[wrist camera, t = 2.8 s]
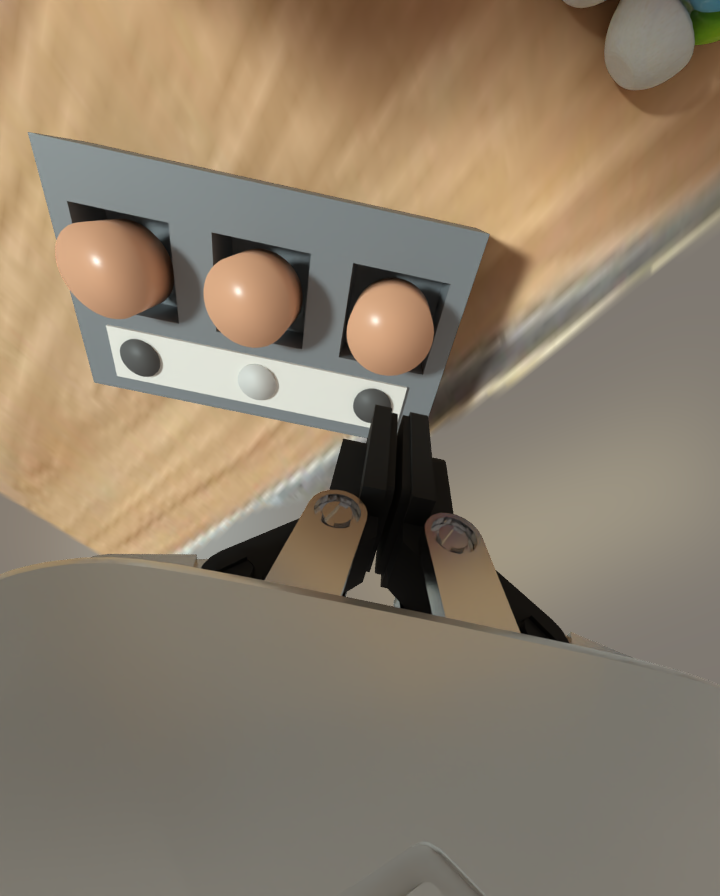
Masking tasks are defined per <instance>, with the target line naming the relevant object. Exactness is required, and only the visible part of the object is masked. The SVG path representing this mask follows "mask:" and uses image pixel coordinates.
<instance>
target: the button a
mask: <svg viewBox="0 0 720 896" xmlns="http://www.w3.org/2000/svg"><path fill="white" fill-rule="evenodd" d="M55 257H56V262H57V266H58V269H59V272H60V274H61V276H62V278H63V280H64V282H65V284H66V285H67V287H68V288H69V290H70V291H71V292H72V293H73V295H74V296H75V297H76V298H77V299H78V300H79V301H80V302H81V303H82V304H84V305H85V306H86V307H88V308H89V309H90V310H92V311H94V312H95V313H97V314H99V315H102V316H104V317H107V318H112V319H126V318H129V317H132V316H134V315H136V314H138V313H141V312H143V311H145V310H147V309H149V308H152V307H154V306H156V305H158V304H160V303H162V302H164V301H165V300H166V299H167V298H168V297H169V296H170V294H171V292H172V290H173V287H174V271H173V264H172V261H171V259H170V256H169V254H168V252H167V250H166V249H165V247H164V245H163V244H162V243H161V241H160V240H159V239H158V238H157V237H156V236H155V235H154V234H153V233H152V232H151V231H150V230H148V229H147V228H146V227H144V226H143V225H141V224H139V223H137V222H134V221H131V220H128V219H110V220H98V221H87V222H77V223H73V224H70V225H68V226H67V227H65V228H64V229H63V230H62V231H61V232H60V234H59V235H58V238H57V240H56V245H55Z"/></svg>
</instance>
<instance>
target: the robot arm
mask: <svg viewBox="0 0 720 896" xmlns="http://www.w3.org/2000/svg"><path fill="white" fill-rule="evenodd" d="M397 425H398V414H396V413H392V408H390V407H385V406H380V405H376V404H375V408H374V412H373V416H372V420H371V425H370V429H369V433H368V438H367V442H366V443H361V442H357V441H352V440H347V439H343V442H342V446H341V449H340V453H339V457H338V460H337V464H336V468H335V472H334V475H333V479H332V483H331V486H330V490H327V491H323V492H320V493H318V494H316V495H315V496H314V497H313V498H312V499H311V500H310V501H309V503H308V505H307V506H306V508H305V510H304V512H303V513H302V515H301V517H300V518H299V519H297V520H294V521H292V522H290V523H287V524H285V525H282V526H280V527H278V528H275V529H273V530H270V531H268V532H266V533H263V534H261V535H259V536H256V537H254V538H251V539H249V540H247V541H245V542H242V543H239V544H237V545H234V546H232V547H229V548H227V549H225V550H222V551H220V552H218V553H217V554H215V555H213V556H212V557H210V558H209V559H197V555H185V554H105V555H97V556H93V557H91V558H75V559H67V560H58V561H50V562H44V563H39V564H34V565H30V566H26V567H22V568H18V569H14V570H10V571H8V572H5V573H2V574H0V896H720V685H718V684H716V683H713V682H711V681H709V680H706V679H703V678H700V677H697V676H694V675H691V674H688V673H685V672H682V671H679V670H676V669H672V668H669V667H665V666H661V665H657V664H654V663H650V662H646V661H643V660H639V659H635V658H632V657H630V656H627V655H625V654H623V653H620V652H618V651H615V650H613V649H610V648H608V647H606V646H603V645H601V644H598V643H596V642H594V641H591V640H589V639H586V638H584V637H582V636H579V635H577V634H574V633H572V632H570V633H569V634H568V635H567V636H566V635H565V634H564V633H563V631H562V630H561V629H560V628H559V626H558V625H557V624H556V623H555V622H554V621H553V620H552V619H551V618H550V617H549V616H547V615H546V614H545V613H544V612H543V611H542V610H540V609H539V608H538V607H537V606H536V605H535V604H534V603H532V602H531V601H530V600H529V599H528V598H527V597H526V596H525V595H524V594H522V593H521V592H520V591H519V590H518V589H517V588H516V587H514V586H513V585H512V584H511V583H510V582H509V581H508V580H506V579H505V578H504V577H503V576H502V575H501V574H500V573H498V572H497V571H496V570H495V568H494V565H493V563H492V560H491V558H490V555H489V553H488V550H487V548H486V545H485V543H484V540H483V538H482V536H481V534H480V533H479V531H478V530H477V529H476V527H475V526H474V525H473V524H472V523H470V522H469V521H467V520H466V519H464V518H462V517H460V516H458V515H455V514H453V508H452V501H451V495H450V487H449V481H448V475H447V467H446V462H445V461H444V460H441V459H437V458H432V452H431V442H430V431H429V421H428V416H427V415H422V414H418V413H413V412H410V414H409V416H406V415H403V416H402V419H401V422H400V425H399V429H398V432H397ZM376 550H377V553H376ZM375 553H376V564H375V573H377V574H381V587H384V588H388V589H389V590H390V592H391V593H392V594H393V595H394V596H395V600H394V607H393V606H387V605H383V604H378V603H373V602H368V601H363V600H358V599H353V598H348V597H346V594H347V591H349V590H350V589H352V588H354V587H355V586H357V585H359V584H360V583H362V582H363V579H364V576H365V573H366V571H367V572H370V569H371V566H372V563H373V560H374V556H375Z"/></svg>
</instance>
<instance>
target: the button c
mask: <svg viewBox="0 0 720 896" xmlns="http://www.w3.org/2000/svg"><path fill="white" fill-rule="evenodd" d="M433 336H434V326H433V321H432V317H431V312H430V308H429V305H428V302H427V300H426V297H425V296H424V294H423V293H422V292H421V290H420V289H419V288H418V287H417V286H415V285H414V284H412V283H411V282H409V281H407V280H404V279H401V278H384V279H381V280H378V281H376V282H374V283H372V284H371V285H369V286H368V287H367V288H365V290H364V291H363V292H362V293H361V294H360V296H359V297H358V299H357V301H356V303H355V306H354V308H353V310H352V313H351V315H350V318H349V321H348V325H347V341H348V345H349V348H350V351H351V353H352V355H353V356H354V358H355V359H356V360H357V361H358V363H360V364H361V365H362V366H363V367H364V368H366V369H367V370H369V371H371V372H373V373H376V374H379V375H385V376H394V375H400V374H403V373H406V372H408V371H410V370H412V369H414V368H415V367H417V366H418V365H419V364H420V363H421V362H422V361H423V360H424V359H425V357H426V356H427V354H428V352H429V350H430V348H431V346H432V342H433Z"/></svg>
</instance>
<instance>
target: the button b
mask: <svg viewBox="0 0 720 896" xmlns="http://www.w3.org/2000/svg"><path fill="white" fill-rule="evenodd" d="M204 302H205V306H206V310H207V312H208V315H209V317H210V319H211V320H212V322H213V323H214V325H215V326H216V327H217V329H218V330H219V331H220V332H221V333H222V334H223V335H224V336H226V337H227V338H228V339H230V340H231V341H233V342H235V343H237V344H239V345H242V346H246V347H251V348H259V347H265V346H268V345H270V344H273V343H274V342H276V341H277V340H278V339H279V338H280V337H281V336H282V335H283V334H284V333H285V331H286V330H287V329H288V328H289V327H290V326H291V324H292V323H293V322H294V321H295V320H296V318H297V317H298V315H299V313H300V311H301V307H302V302H303V293H302V287H301V283H300V280H299V278H298V275H297V273H296V272H295V270H294V269H293V267H292V266H291V265H290V264H289V263H288V262H287V261H286V260H285V259H284V258H283V257H281V256H280V255H278V254H277V253H275V252H272V251H270V250H266V249H250V250H247V251H244V252H241V253H238V254H235V255H233V256H230V257H227V258H224V259H222V260H221V261H219V262H218V263H216V264H215V265H214V266H213V267H212V268H211V270H210V271H209V273H208V275H207V277H206V280H205V283H204Z"/></svg>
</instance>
